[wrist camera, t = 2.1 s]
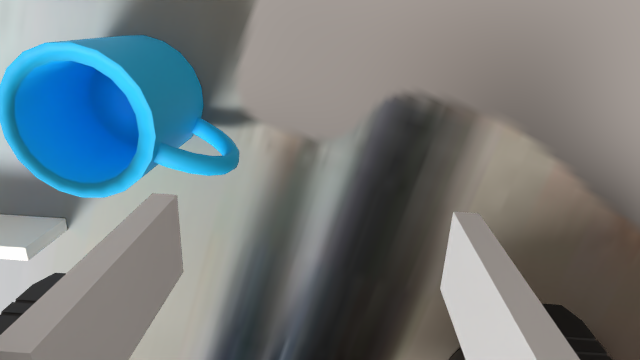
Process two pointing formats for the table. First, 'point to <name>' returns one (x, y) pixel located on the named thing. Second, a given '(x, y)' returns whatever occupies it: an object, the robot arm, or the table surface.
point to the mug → (106, 114)
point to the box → (27, 235)
